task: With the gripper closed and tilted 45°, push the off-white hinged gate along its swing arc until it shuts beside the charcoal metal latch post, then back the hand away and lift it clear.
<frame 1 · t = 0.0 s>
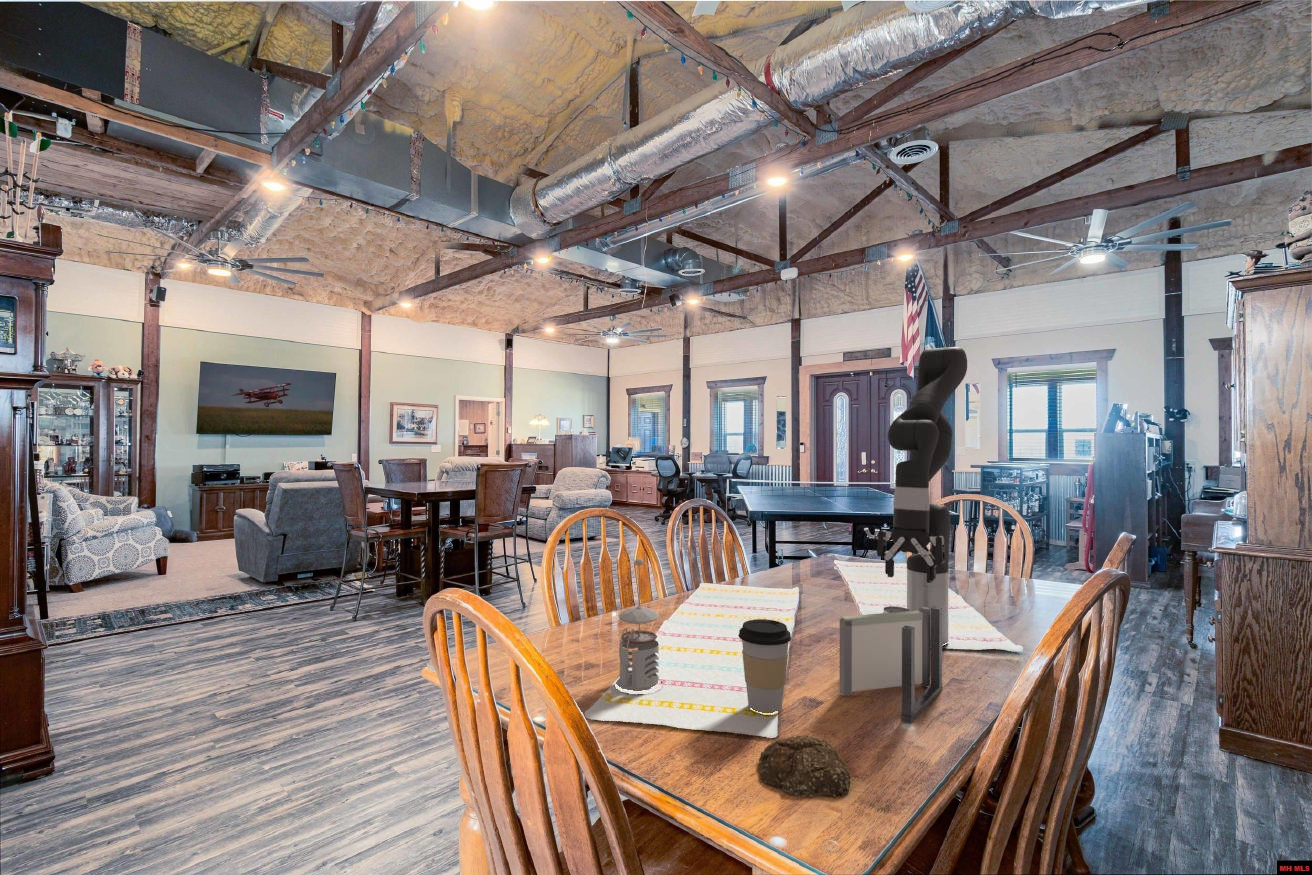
hand: (909, 579, 136), 17 cm above the table, tool pointing down, fingers open, 8 cm apart
french press: (636, 687, 119), on the table
coffee cup: (764, 709, 109), on the table
gate frame: (921, 705, 110), on the table
bread roll: (801, 776, 88), on the table
gate: (886, 649, 117), point 8 cm above the table, hinge at -35.0°
can: (897, 666, 130), on the table
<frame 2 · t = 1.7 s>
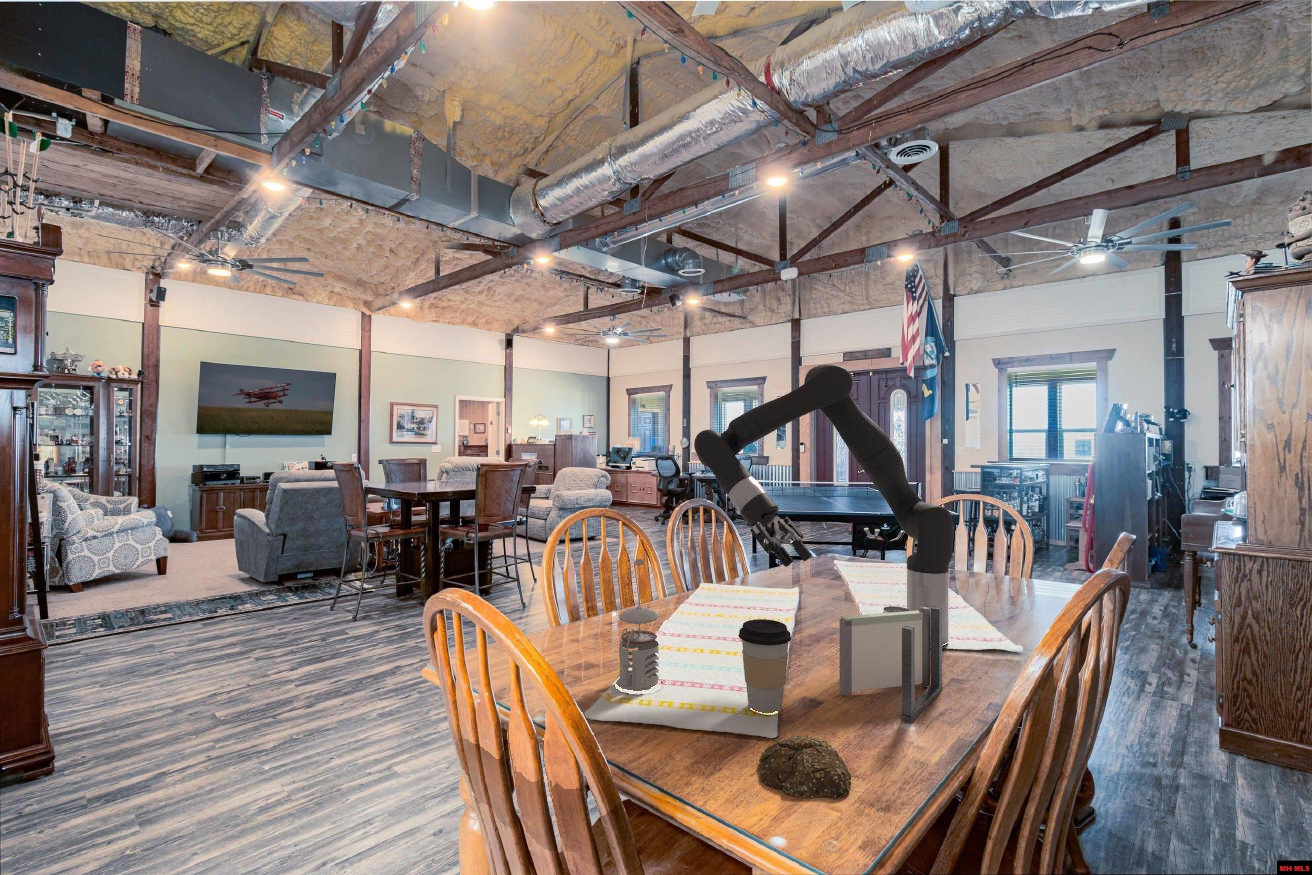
hand: (799, 561, 126), 23 cm above the table, tool tilted 45°, fingers open, 8 cm apart
nothing on the table moved.
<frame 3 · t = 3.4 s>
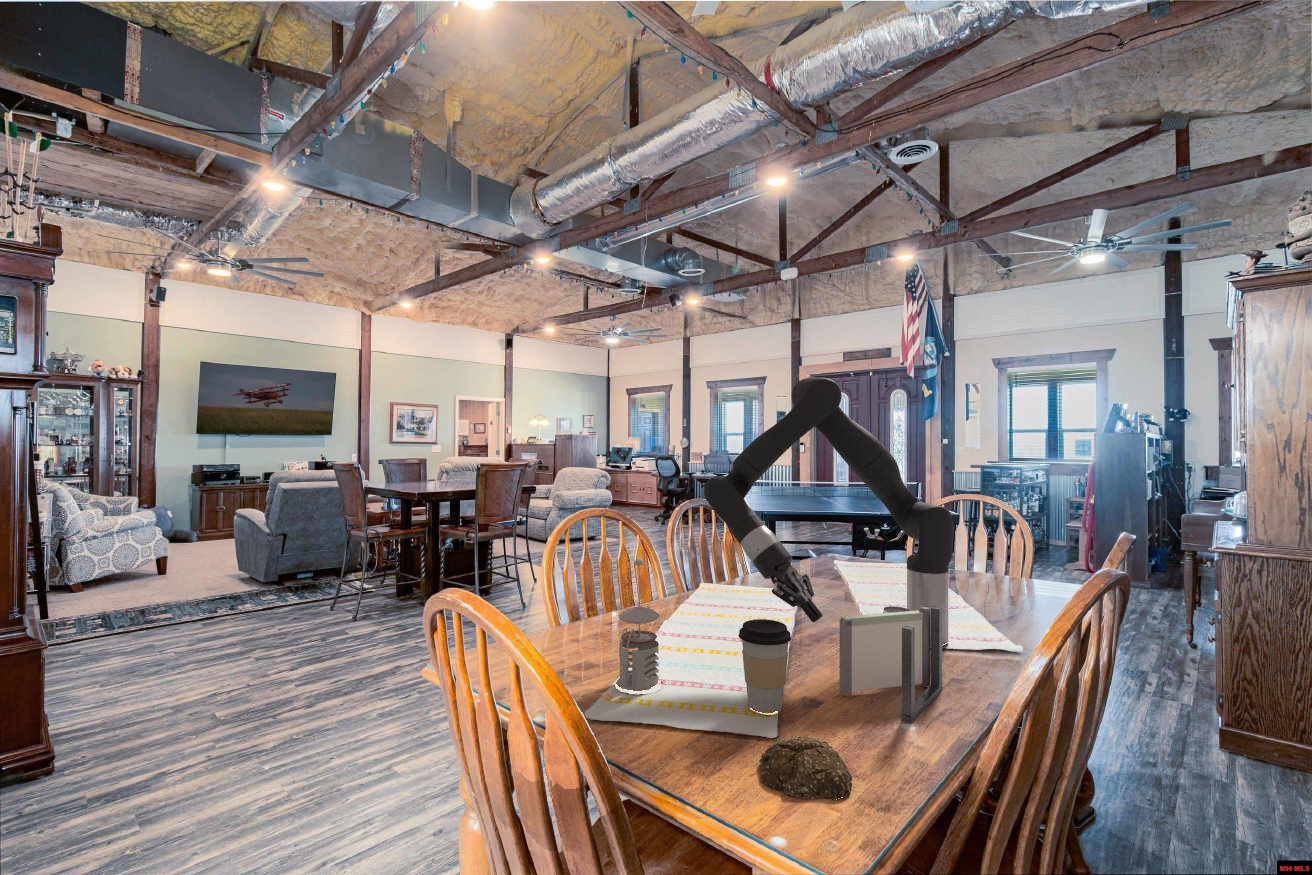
hand: (818, 619, 122), 12 cm above the table, tool tilted 45°, fingers closed
nothing on the table moved.
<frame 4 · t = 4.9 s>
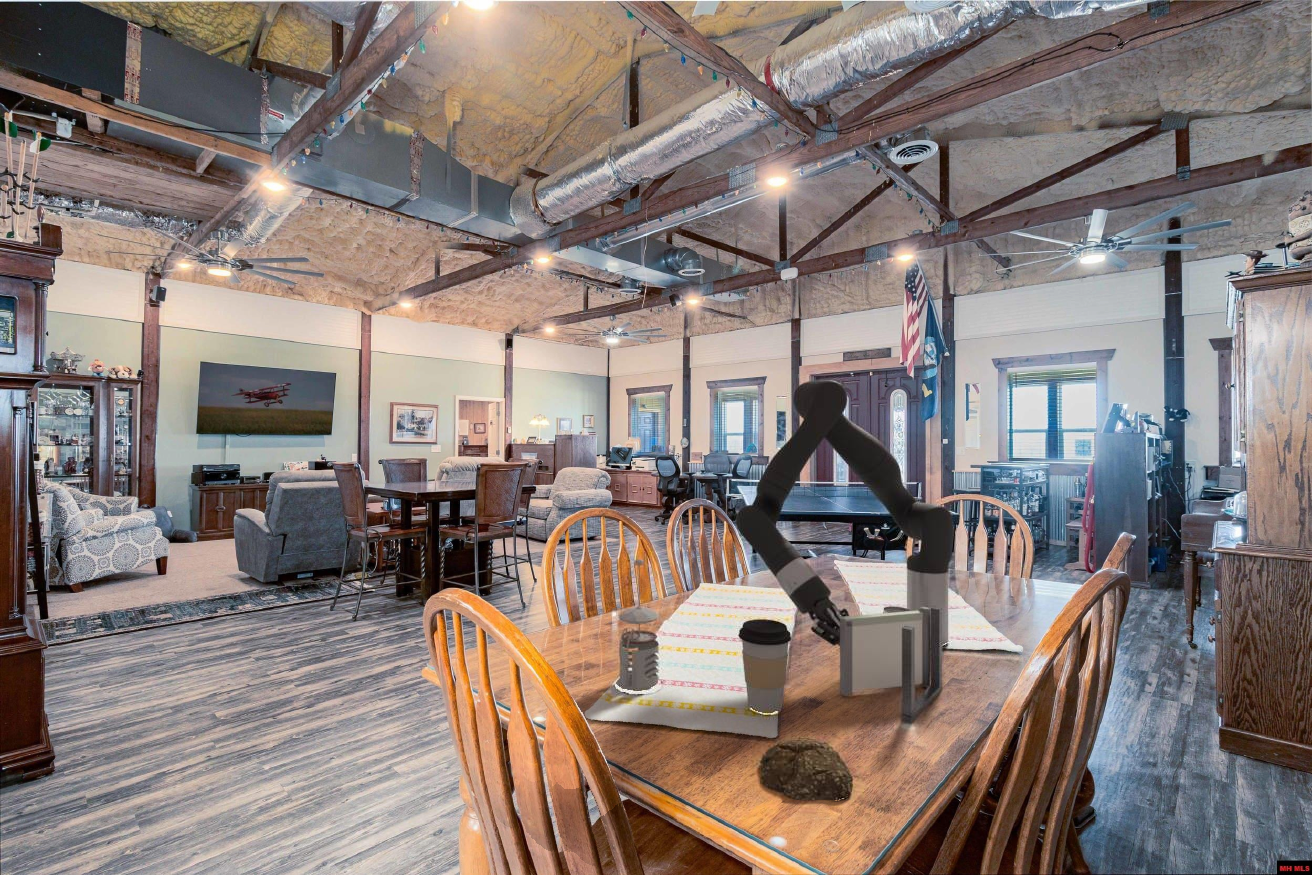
hand: (860, 658, 117), 6 cm above the table, tool tilted 45°, fingers closed
gate: (886, 649, 116), point 8 cm above the table, hinge at -34.4°, touching gripper
everything else where it was.
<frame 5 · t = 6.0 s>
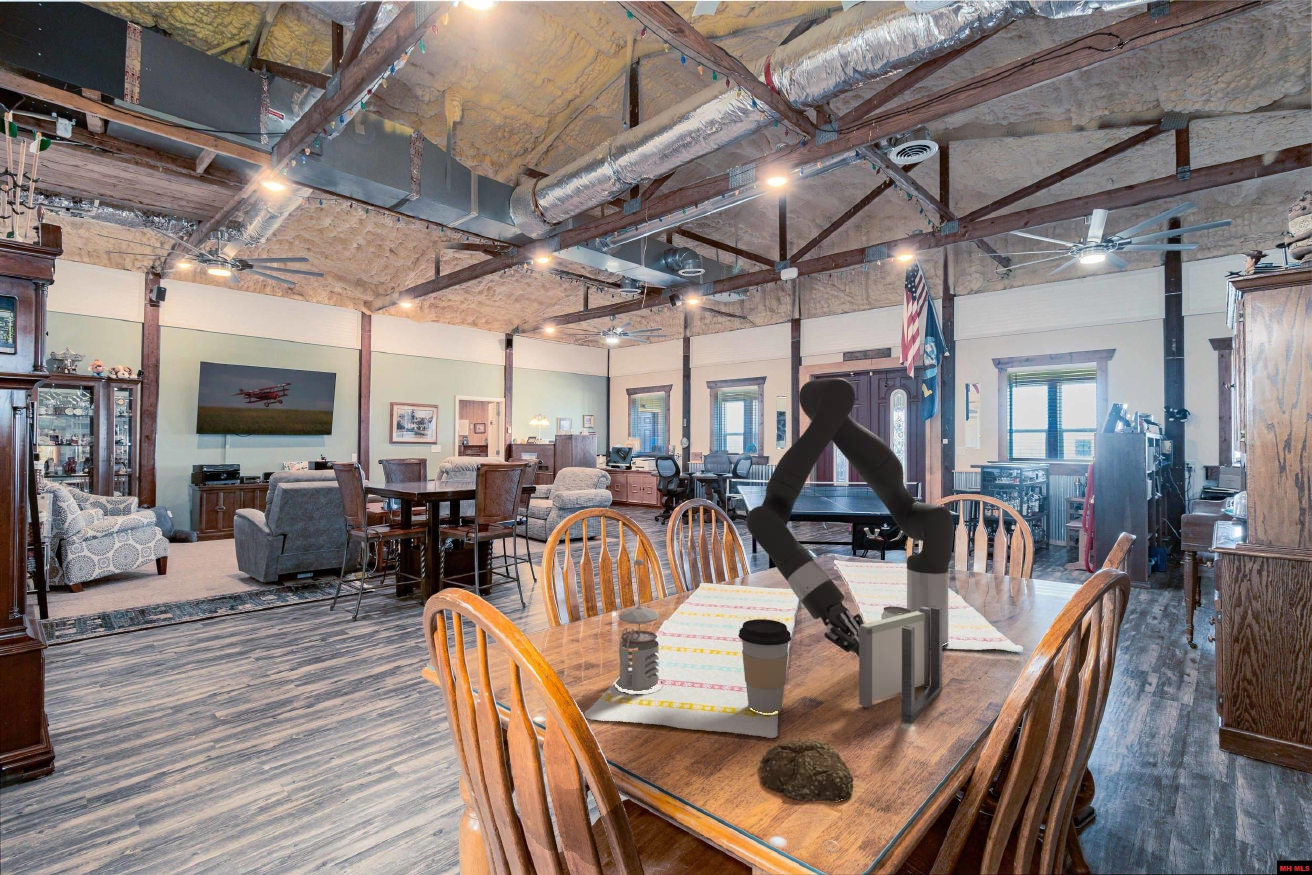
hand: (874, 665, 113), 6 cm above the table, tool tilted 45°, fingers closed
gate: (896, 654, 114), point 8 cm above the table, hinge at -17.5°, touching gripper
everything else where it was.
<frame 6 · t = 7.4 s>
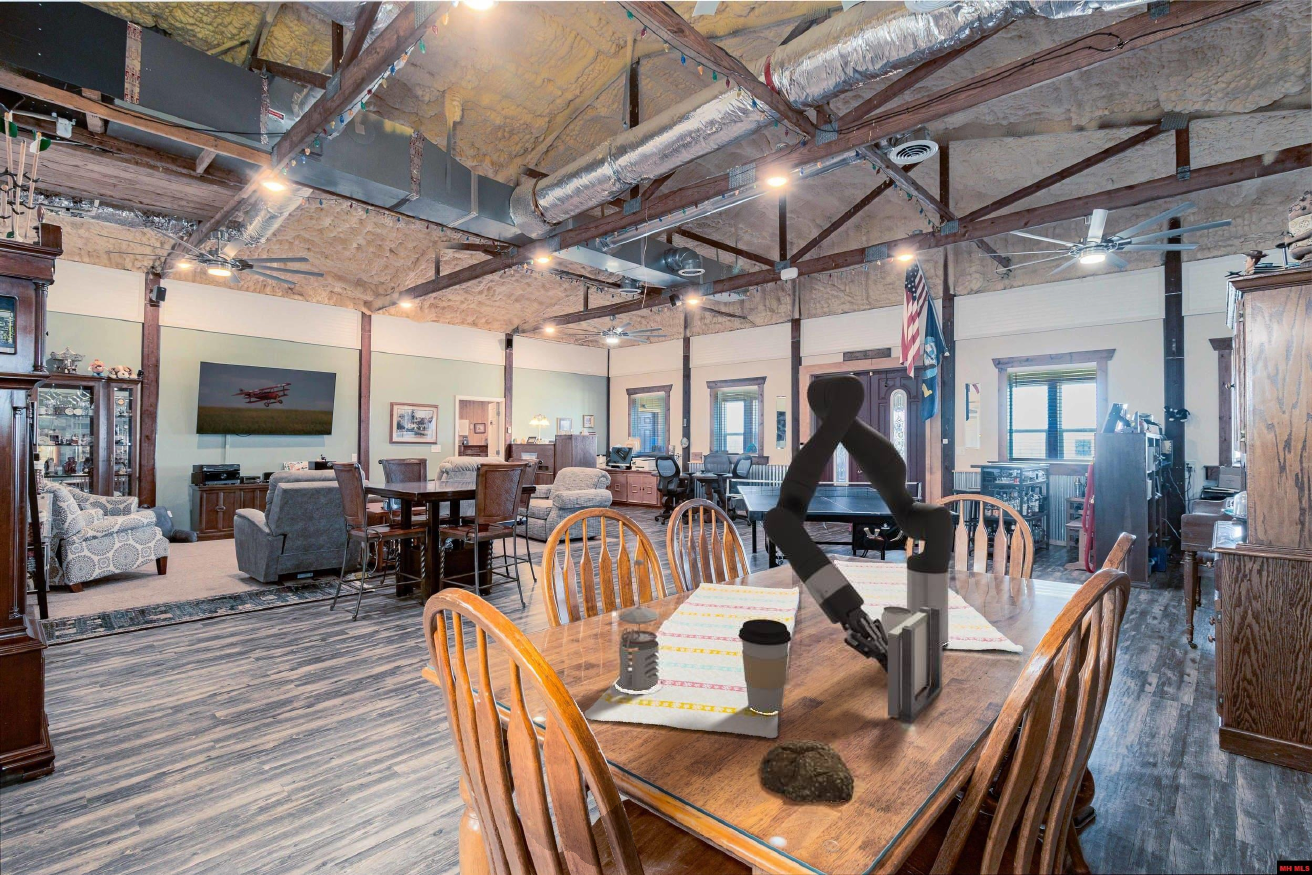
hand: (895, 672, 110), 6 cm above the table, tool tilted 45°, fingers closed
gate: (910, 658, 112), point 8 cm above the table, hinge at 0.3°, touching gripper
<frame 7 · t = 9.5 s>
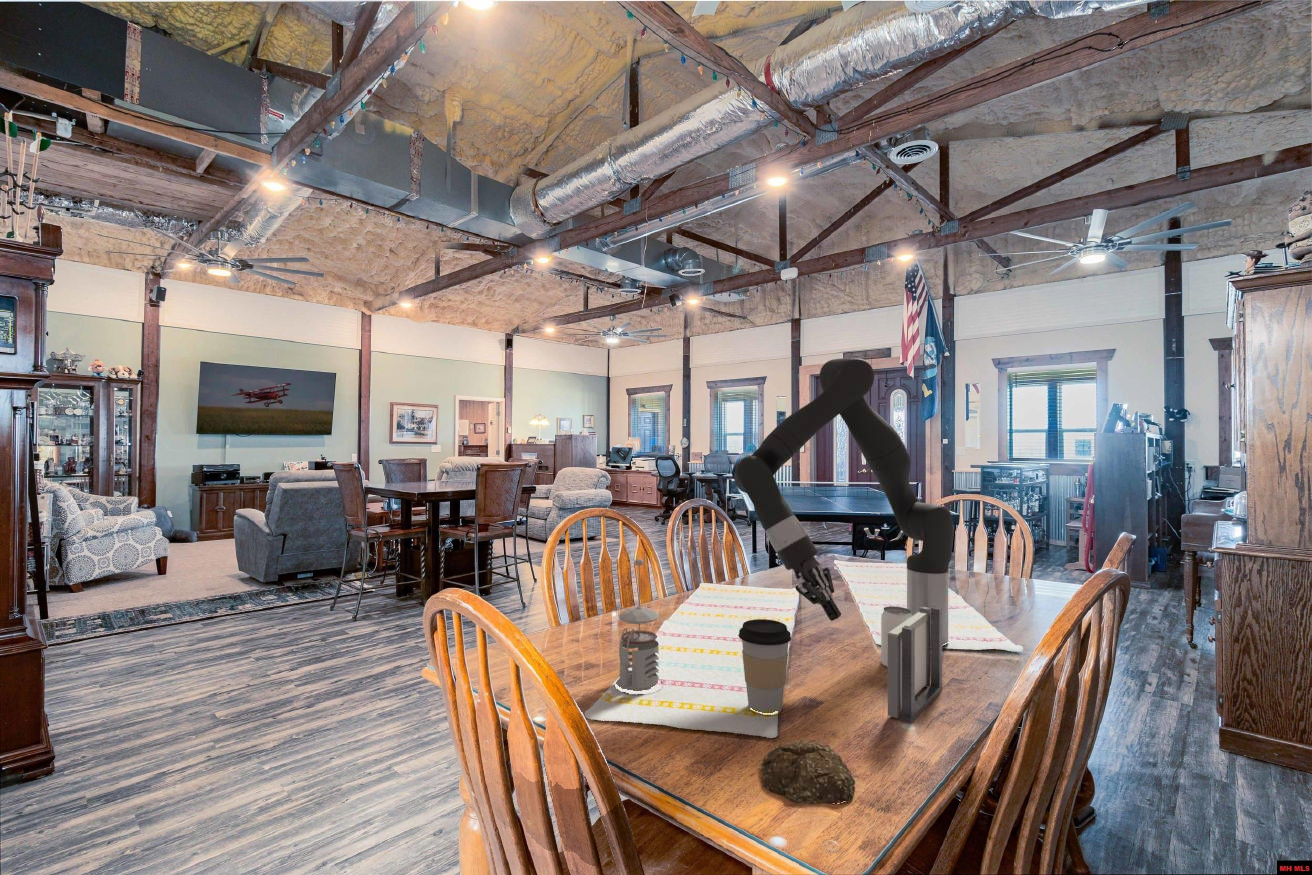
hand: (836, 618, 122), 13 cm above the table, tool tilted 35°, fingers closed
gate: (910, 658, 112), point 8 cm above the table, hinge at 0.3°
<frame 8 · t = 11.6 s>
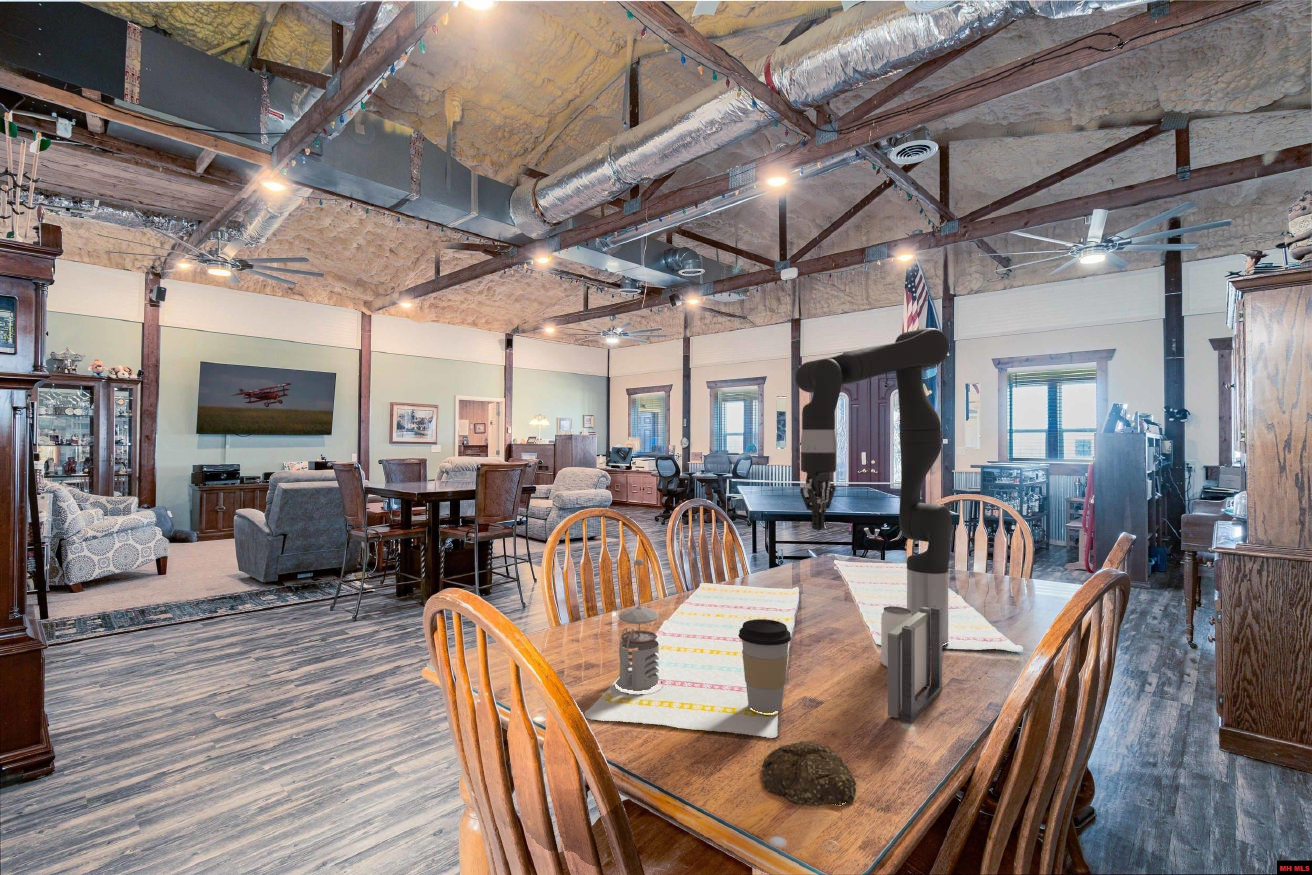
hand: (818, 529, 132), 29 cm above the table, tool pointing down, fingers closed
at the end: gate at +0° (first picture: -35°) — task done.
